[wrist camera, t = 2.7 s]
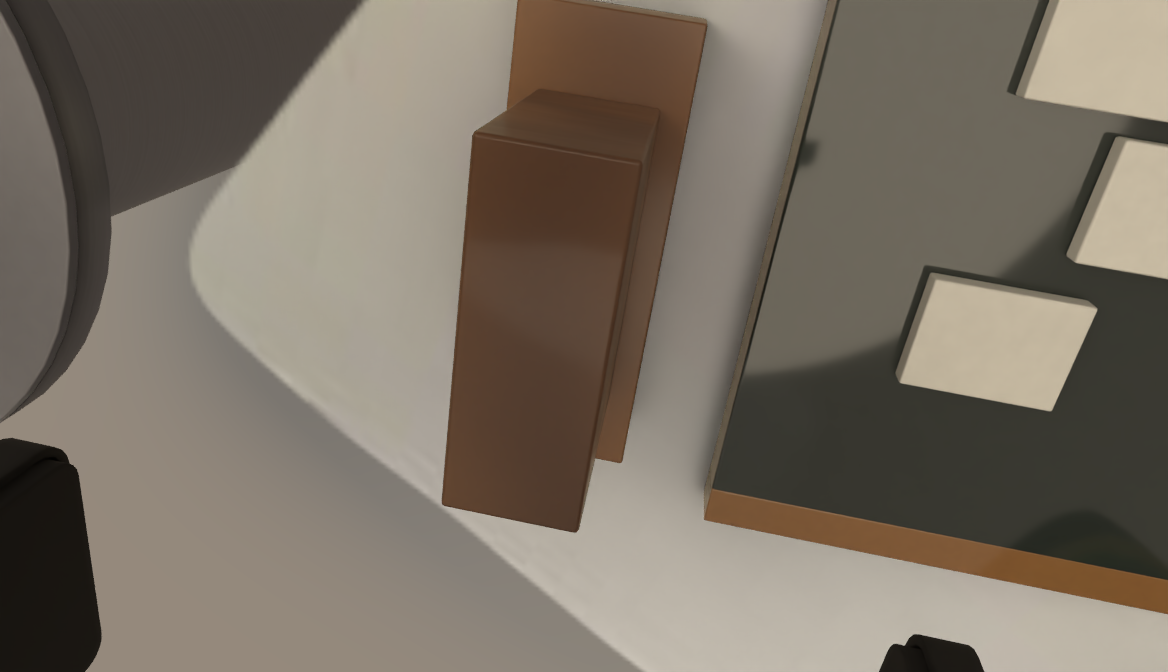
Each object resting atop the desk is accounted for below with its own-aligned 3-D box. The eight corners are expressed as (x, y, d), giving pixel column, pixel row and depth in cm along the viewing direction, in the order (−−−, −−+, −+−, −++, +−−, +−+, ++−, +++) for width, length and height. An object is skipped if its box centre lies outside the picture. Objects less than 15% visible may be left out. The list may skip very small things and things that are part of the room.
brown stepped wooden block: (493, 395, 26) (404, 572, 18) (537, -9, 21) (439, -1, 13) (628, 422, 25) (596, 613, 18) (707, 18, 20) (709, 44, 13)
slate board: (703, 491, 26) (703, 520, 25) (920, -368, 17) (939, -398, 15) (1212, 594, 25) (1242, 629, 24) (1743, -260, 16) (1842, -283, 14)
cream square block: (1013, 95, 19) (1023, 99, 18) (1064, -46, 17) (1076, -48, 17) (1191, 124, 18) (1205, 128, 18) (1255, -17, 17) (1273, -17, 17)
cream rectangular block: (893, 373, 22) (898, 383, 21) (930, 271, 21) (935, 279, 20) (1043, 401, 22) (1052, 412, 21) (1089, 300, 20) (1099, 308, 20)
